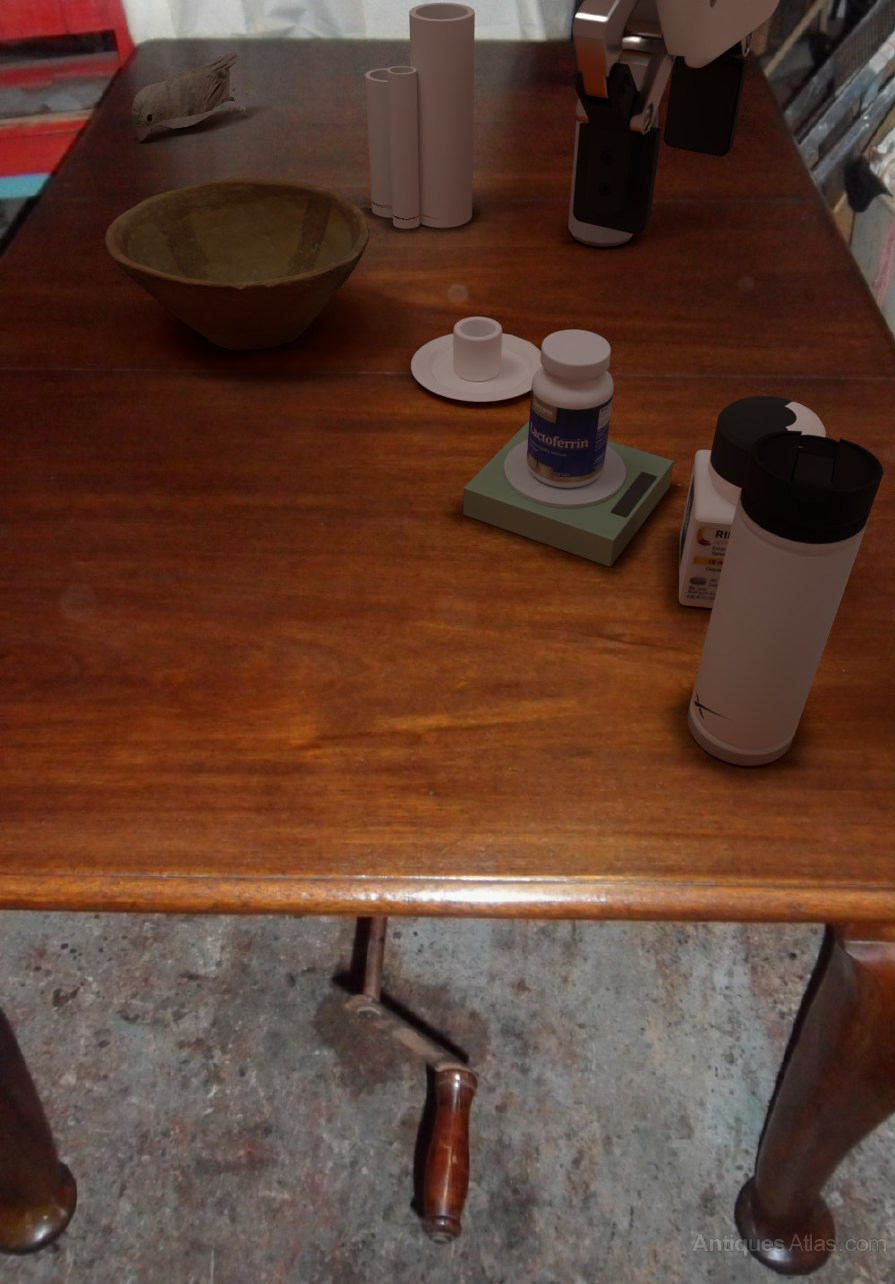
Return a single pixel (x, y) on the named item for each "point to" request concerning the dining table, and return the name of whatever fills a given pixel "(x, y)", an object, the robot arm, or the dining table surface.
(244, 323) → the bowl
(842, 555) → the travel mug
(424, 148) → the vase
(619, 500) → the scale
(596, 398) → the pill bottle
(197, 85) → the decorative bird
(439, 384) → the candle holder
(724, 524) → the container
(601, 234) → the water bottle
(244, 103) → the dining table surface
